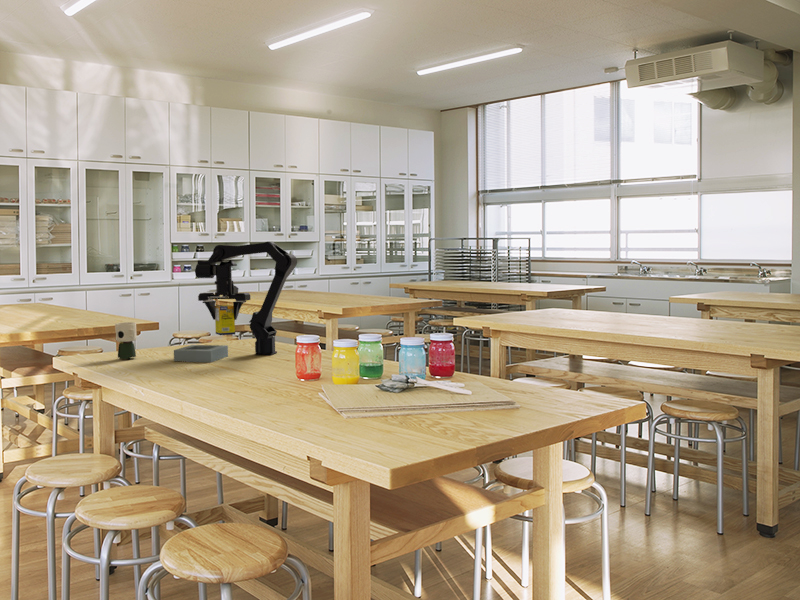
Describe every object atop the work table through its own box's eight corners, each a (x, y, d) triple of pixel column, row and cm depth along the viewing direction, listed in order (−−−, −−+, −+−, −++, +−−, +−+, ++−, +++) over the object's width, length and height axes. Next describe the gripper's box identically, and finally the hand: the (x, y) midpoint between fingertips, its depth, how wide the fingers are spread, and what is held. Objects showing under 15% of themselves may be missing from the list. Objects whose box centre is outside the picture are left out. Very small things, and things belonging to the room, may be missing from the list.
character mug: (110, 358, 257) (108, 323, 256) (128, 356, 263) (127, 321, 262) (125, 361, 250) (123, 325, 249) (143, 359, 255) (142, 323, 254)
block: (228, 356, 261) (227, 345, 261) (211, 362, 247) (210, 350, 247) (192, 355, 263) (192, 344, 263) (174, 361, 250) (173, 350, 249)
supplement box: (235, 334, 267) (234, 305, 266) (219, 335, 264) (219, 306, 263) (230, 332, 272) (230, 304, 271) (215, 334, 269) (214, 305, 268)
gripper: (255, 277, 273) (256, 317, 274) (210, 277, 276) (211, 317, 277) (244, 278, 262) (245, 320, 263) (196, 278, 265) (198, 320, 266)
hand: (224, 319), depth 268 cm, fingers closed on supplement box, 8 cm apart
